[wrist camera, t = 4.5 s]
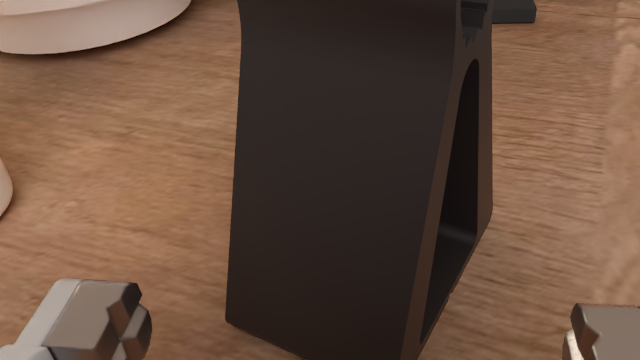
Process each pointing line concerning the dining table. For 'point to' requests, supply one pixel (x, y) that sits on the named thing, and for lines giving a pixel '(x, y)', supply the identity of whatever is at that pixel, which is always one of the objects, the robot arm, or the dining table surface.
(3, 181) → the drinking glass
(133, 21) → the bowl
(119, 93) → the dining table surface
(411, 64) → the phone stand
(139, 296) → the robot arm
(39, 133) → the dining table surface
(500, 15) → the dock pad
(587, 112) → the dining table surface
